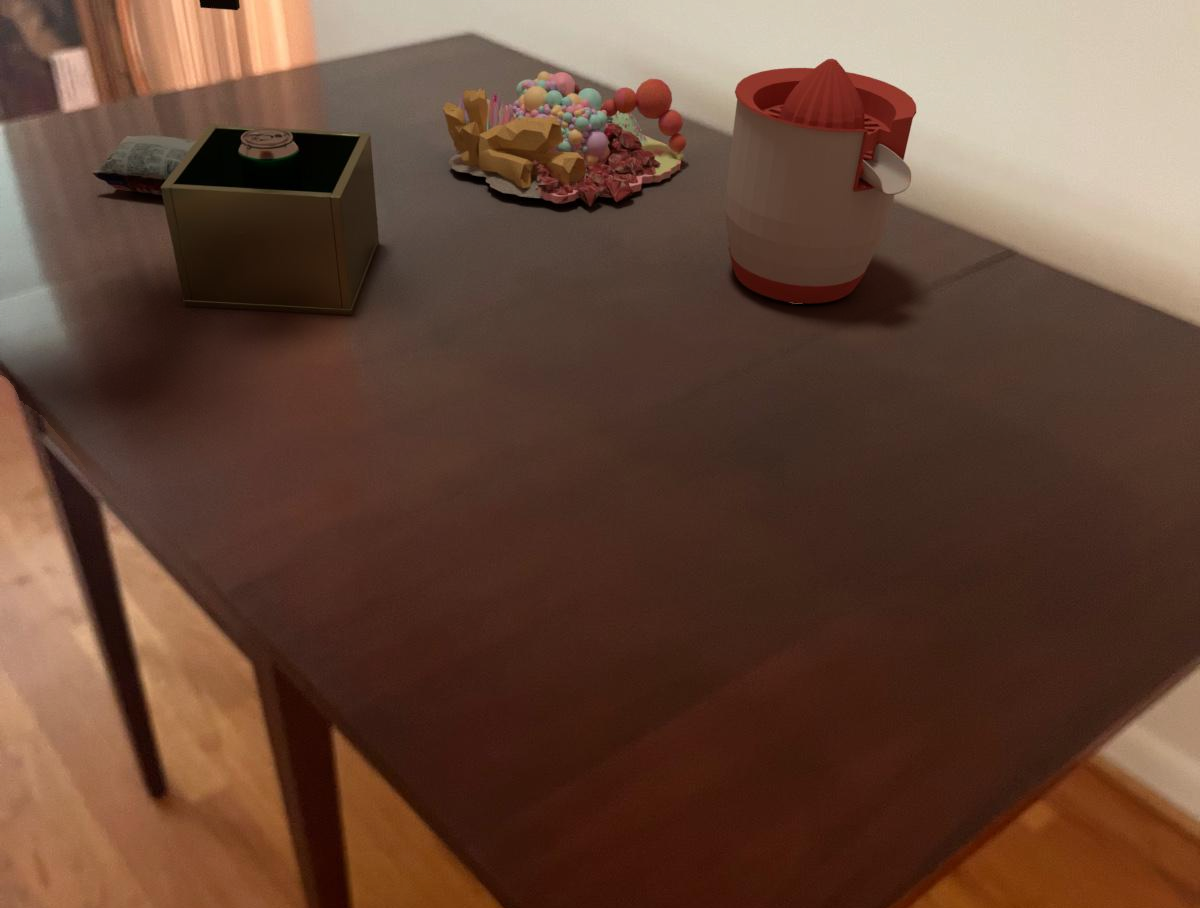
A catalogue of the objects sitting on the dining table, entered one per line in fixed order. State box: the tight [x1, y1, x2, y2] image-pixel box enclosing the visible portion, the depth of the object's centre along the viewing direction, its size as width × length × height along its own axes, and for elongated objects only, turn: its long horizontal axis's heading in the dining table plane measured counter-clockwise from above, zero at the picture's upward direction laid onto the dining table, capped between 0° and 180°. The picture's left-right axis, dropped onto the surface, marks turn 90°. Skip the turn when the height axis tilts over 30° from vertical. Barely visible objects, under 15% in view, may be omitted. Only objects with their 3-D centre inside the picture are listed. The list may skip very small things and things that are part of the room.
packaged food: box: [91, 134, 197, 196], centre depth 119 cm, size 9×12×5 cm
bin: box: [161, 123, 380, 316], centre depth 104 cm, size 15×15×11 cm
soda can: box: [238, 127, 304, 191], centre depth 103 cm, size 5×5×12 cm
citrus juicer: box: [724, 58, 917, 305], centre depth 104 cm, size 16×17×20 cm
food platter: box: [442, 70, 687, 207], centre depth 127 cm, size 25×24×9 cm
